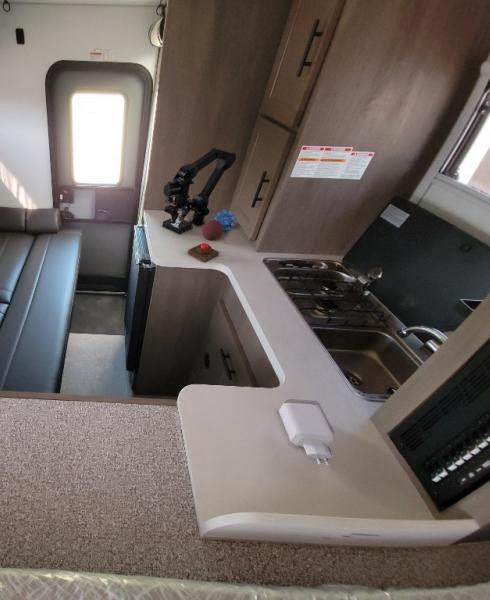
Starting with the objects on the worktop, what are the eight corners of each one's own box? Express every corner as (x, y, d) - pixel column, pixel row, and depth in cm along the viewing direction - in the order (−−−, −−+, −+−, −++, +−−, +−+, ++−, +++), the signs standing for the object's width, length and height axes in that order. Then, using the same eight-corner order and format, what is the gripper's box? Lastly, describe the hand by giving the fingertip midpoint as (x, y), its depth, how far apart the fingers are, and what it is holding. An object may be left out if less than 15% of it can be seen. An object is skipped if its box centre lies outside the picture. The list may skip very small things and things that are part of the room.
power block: (201, 247, 161) (202, 240, 159) (218, 255, 155) (220, 248, 153) (187, 253, 156) (189, 246, 154) (204, 262, 150) (206, 255, 148)
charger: (299, 468, 78) (277, 412, 89) (339, 471, 77) (312, 415, 89) (307, 458, 75) (283, 402, 87) (349, 462, 74) (320, 405, 86)
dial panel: (174, 221, 184) (175, 216, 182) (191, 229, 177) (192, 223, 175) (162, 226, 180) (163, 220, 178) (178, 234, 172) (179, 228, 170)
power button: (203, 245, 155) (204, 242, 154) (209, 248, 153) (210, 245, 152) (198, 247, 154) (199, 244, 153) (205, 250, 152) (205, 247, 150)
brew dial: (173, 221, 178) (174, 213, 175) (174, 220, 178) (176, 213, 176) (180, 224, 174) (181, 217, 172) (182, 223, 175) (183, 216, 173)
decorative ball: (198, 234, 173) (202, 216, 166) (217, 234, 172) (222, 216, 166) (202, 243, 165) (206, 224, 159) (222, 243, 164) (227, 225, 158)
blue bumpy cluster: (213, 234, 172) (218, 213, 165) (209, 228, 178) (215, 207, 170) (235, 235, 172) (241, 213, 165) (231, 229, 177) (237, 208, 170)
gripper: (182, 185, 176) (177, 212, 186) (158, 192, 167) (154, 221, 177) (199, 191, 169) (193, 219, 179) (174, 199, 160) (170, 228, 170)
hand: (177, 221), depth 176 cm, fingers open, 6 cm apart
